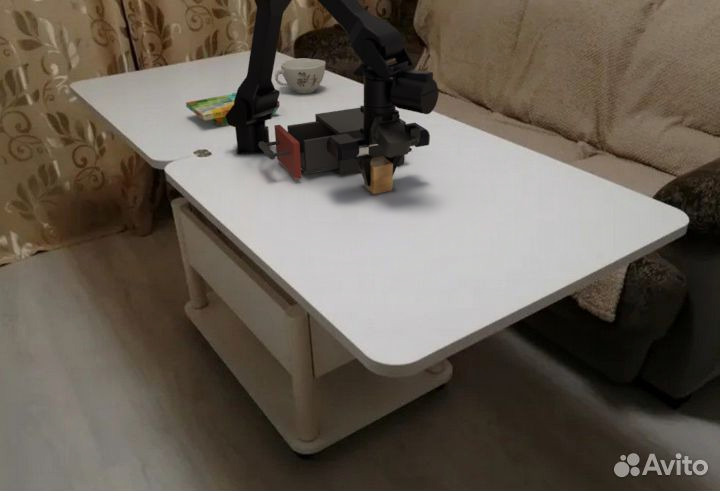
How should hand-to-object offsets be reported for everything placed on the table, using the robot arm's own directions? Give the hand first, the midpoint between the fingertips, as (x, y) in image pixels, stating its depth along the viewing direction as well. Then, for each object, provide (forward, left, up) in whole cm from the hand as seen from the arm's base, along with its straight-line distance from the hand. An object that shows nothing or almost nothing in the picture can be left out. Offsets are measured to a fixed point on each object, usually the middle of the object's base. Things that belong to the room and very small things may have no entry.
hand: (378, 183), depth 113 cm
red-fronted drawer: (-13, +11, 0) cm, 17 cm away
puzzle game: (-31, +46, -1) cm, 55 cm away
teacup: (-14, +67, -1) cm, 68 cm away
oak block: (0, 0, -1) cm, 1 cm away
